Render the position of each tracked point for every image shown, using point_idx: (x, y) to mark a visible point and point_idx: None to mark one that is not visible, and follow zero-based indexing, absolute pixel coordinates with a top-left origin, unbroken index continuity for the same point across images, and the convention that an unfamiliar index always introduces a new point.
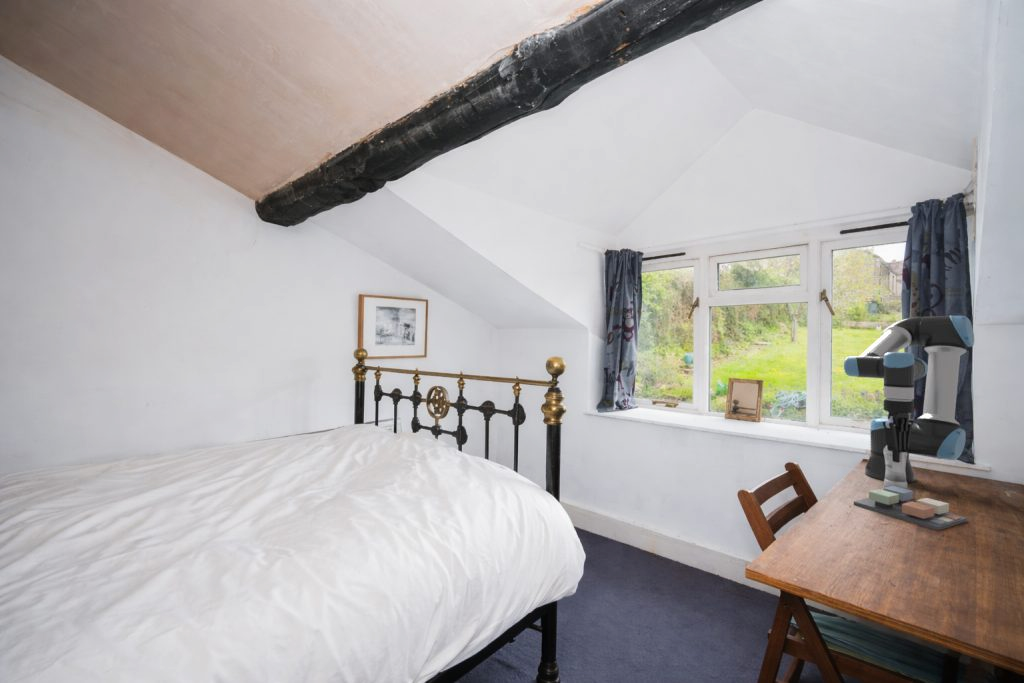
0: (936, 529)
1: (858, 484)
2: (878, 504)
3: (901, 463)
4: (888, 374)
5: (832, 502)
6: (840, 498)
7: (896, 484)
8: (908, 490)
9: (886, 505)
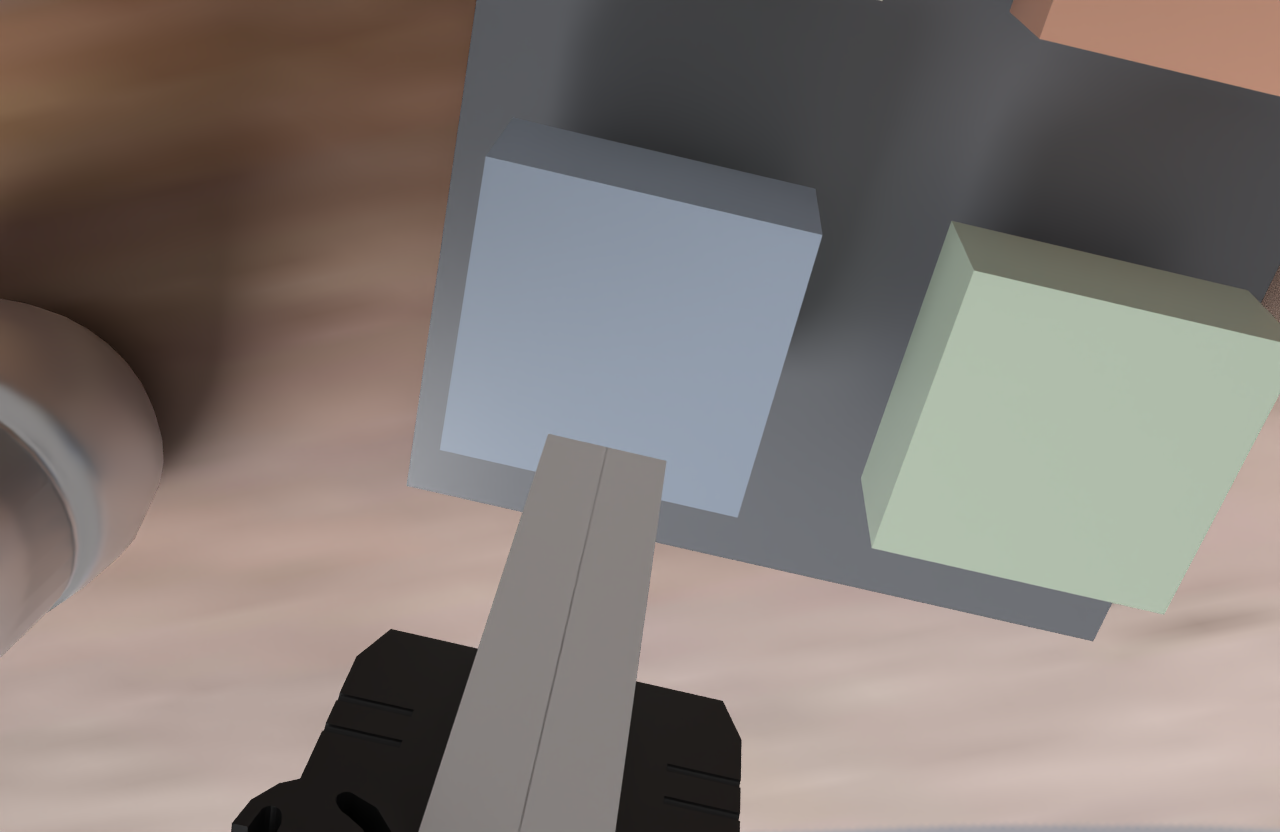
0: None
1: (99, 761)
2: None
3: (637, 622)
4: None
5: (1190, 776)
6: (930, 758)
7: (84, 450)
8: (534, 218)
9: None
